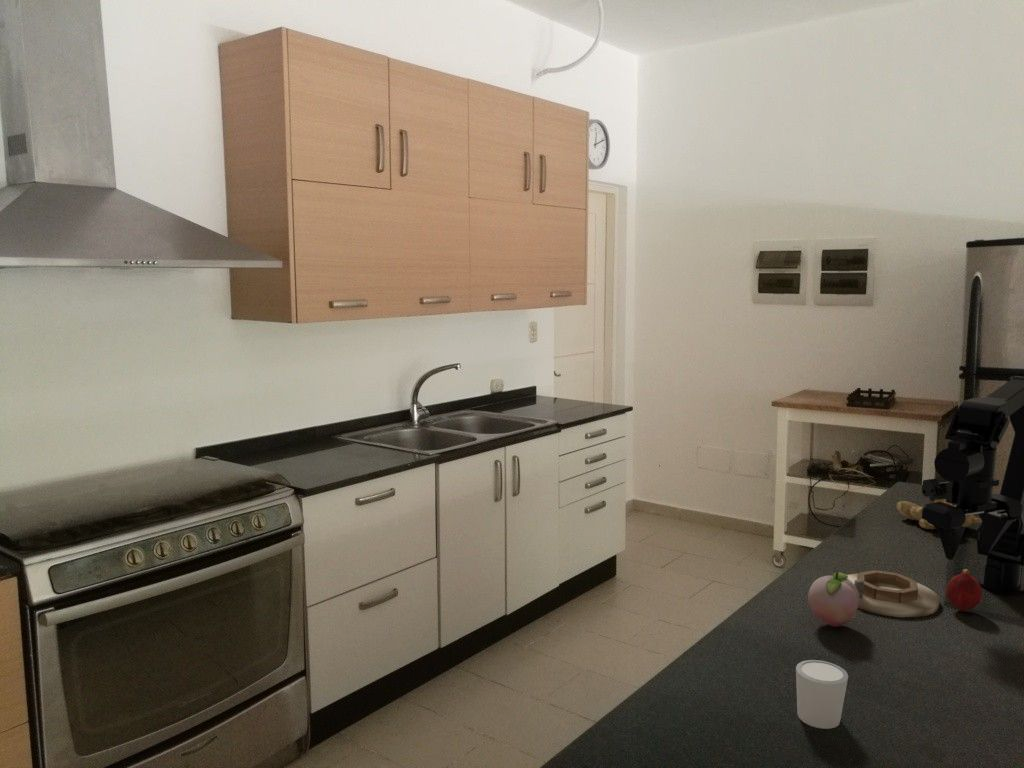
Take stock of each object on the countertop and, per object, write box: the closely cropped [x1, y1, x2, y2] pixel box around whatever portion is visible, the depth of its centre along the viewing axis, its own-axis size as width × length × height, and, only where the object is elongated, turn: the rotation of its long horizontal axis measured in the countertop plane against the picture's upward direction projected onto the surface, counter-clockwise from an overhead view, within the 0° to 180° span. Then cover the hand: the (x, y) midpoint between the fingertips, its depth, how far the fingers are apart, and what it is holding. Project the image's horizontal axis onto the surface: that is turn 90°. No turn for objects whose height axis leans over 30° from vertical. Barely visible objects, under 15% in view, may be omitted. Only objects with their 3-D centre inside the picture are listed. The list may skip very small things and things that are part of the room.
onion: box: [945, 568, 983, 613], centre depth 151 cm, size 6×6×8 cm
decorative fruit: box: [807, 571, 859, 628], centre depth 145 cm, size 9×8×10 cm
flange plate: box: [846, 569, 940, 618], centre depth 158 cm, size 18×18×4 cm
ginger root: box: [896, 499, 982, 531], centre depth 200 cm, size 16×16×8 cm
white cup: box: [795, 659, 849, 730], centre depth 116 cm, size 7×7×7 cm
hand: (967, 555), depth 150 cm, fingers open, 9 cm apart
